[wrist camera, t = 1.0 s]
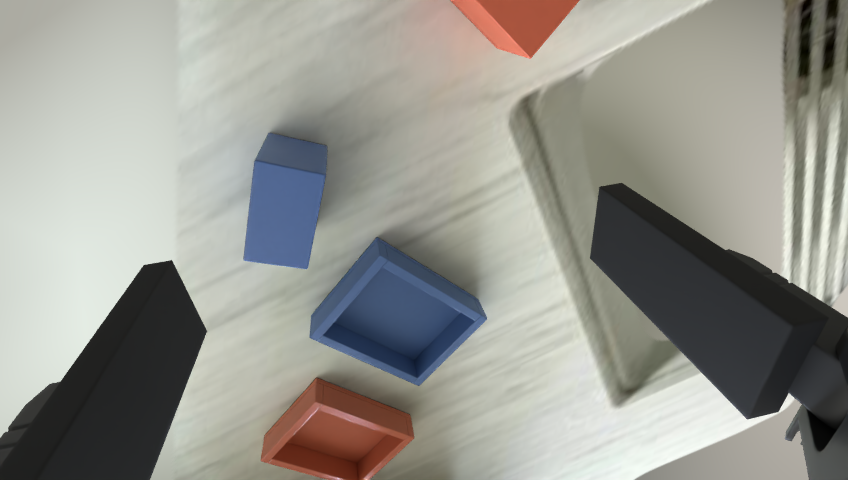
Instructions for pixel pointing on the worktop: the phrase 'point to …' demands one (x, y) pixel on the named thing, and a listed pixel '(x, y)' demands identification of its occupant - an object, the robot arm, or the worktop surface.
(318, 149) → the blue rectangular block
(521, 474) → the worktop surface
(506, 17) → the rust bar
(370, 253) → the tray blue
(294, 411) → the tray rust
